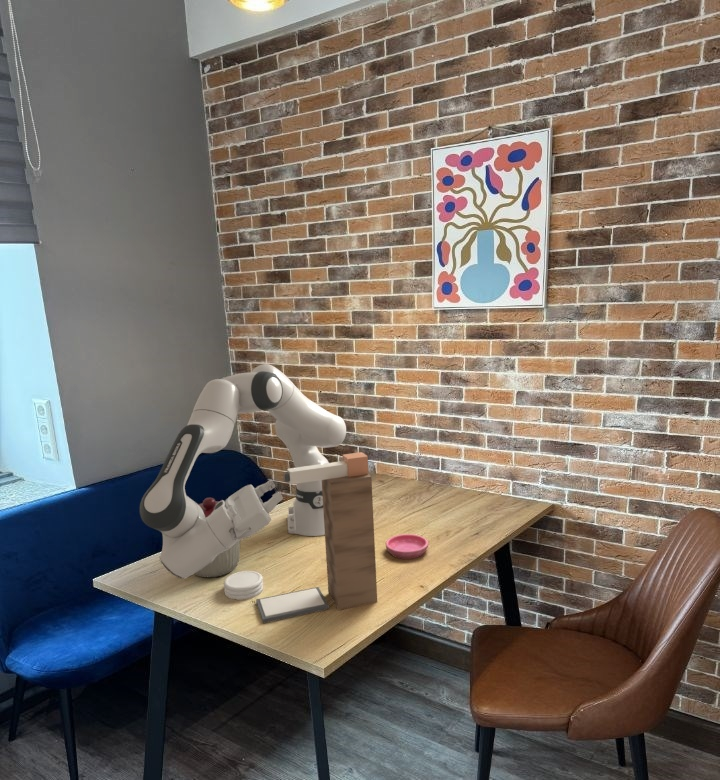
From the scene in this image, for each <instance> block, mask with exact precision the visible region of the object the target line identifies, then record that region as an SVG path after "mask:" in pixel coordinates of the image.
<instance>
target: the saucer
mask: <svg viewBox="0 0 720 780" xmlns="http://www.w3.org/2000/svg"><path fill="white" fill-rule="evenodd" d="M385 548H386V549H387V551H388V552H389V553H390V554H391V555H392V556H393V555H394V556H393V557H395V558H399V559H402V558H403V560H404V559H406V560H409V559H410V558H412V559H417V558H419V557H421V556H422V555H424V553H425V552H426V551H427V549H428V548H429V541H428V539H427V538H426V537H424V536H422V535H420V534H419V535H418V534H414V533H412V534H411V533H404V534H397V535H394V536H391V537H390V538H388V539H387V540H386V542H385ZM410 560H411V559H410Z"/></svg>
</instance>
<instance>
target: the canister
mask: <svg viewBox="0 0 720 780" xmlns="http://www.w3.org/2000/svg"><path fill="white" fill-rule="evenodd" d="M220 501H221V500H220ZM220 501H218V500H217V501H216V499H215V498H214V497H206V498H204V500H202V503H197V504H198V505H199V506H200V507H201V508H202V510H203V512H204V515H205V517H208V516H209V515H210V514H211V513H212V512H213V511H214V509H215V506H216V504H217V503H218V502H220ZM240 552H241V540H240V541H238V542H237V543H236V544H234V545H233V546H232V547H230V548H229V549H228V550H226V551H224V552H221V553H220V554H218V555H217V556H216V557H215V559H214V560H213V561H212V562H211V563H209V564H208V565H207V566H205V567H204V568H202V569H201V570H199V571H198V572H196V573H195V574H194V575H195V576H198V577H200V578H217V577H221V576H225V575H226V574H229V573H231V572H232V571H234V570H235V569H236V568H237V566H238V564H239V562H240V554H241V553H240Z"/></svg>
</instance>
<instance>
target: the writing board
mask: <svg viewBox="0 0 720 780" xmlns="http://www.w3.org/2000/svg"><path fill="white" fill-rule="evenodd" d="M255 601H256V602H255V603H256V606H257V609H258V612H259V615H260V618H261V621H262V623H263V624H266V623H270V622H277V621H280V620H285V619H288V618H294V617H298V616H303V615H309V614H311V613H317V612H321V611H326V610H329V609H330V606H329V603H328V602H327V600H326V598H325V596H324V594H323V593H322V591H321V589H320V587H319V586H316V587H315V586H314V587H312V588H311V587H310V588H307V589H301V590H297V591H291V592H288V593H282V594H277V595H272V596H267V597H262V598H259V599H258V598H256V600H255Z"/></svg>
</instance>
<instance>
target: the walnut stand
mask: <svg viewBox="0 0 720 780" xmlns="http://www.w3.org/2000/svg"><path fill="white" fill-rule="evenodd" d="M372 481H373V480H372V476H371V475H370V473H369V474H365V475H358V476H352V477H348V476H345V477H339V478H332V479H325V480H322V496H323V512H324V528H325V535H324V541H325V542H324V543H325V557H326V559H325V561H326V574H327V575H326V576H327V589H328V591H327V592H328V595H329V597H330V598H331V600H332V602H333V604H334V605H335V607H336V608H337V610H338V611H341V610H346V609H350V608H356V607H360V606H365V605H368V604H375V603H378V590H377V588H378V586H377V565H376V547H375V546H376V545H375V544H376V543H375V526H374V525H375V524H374V523H375V522H374V505H373V500H374V499H373V483H372Z"/></svg>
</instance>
